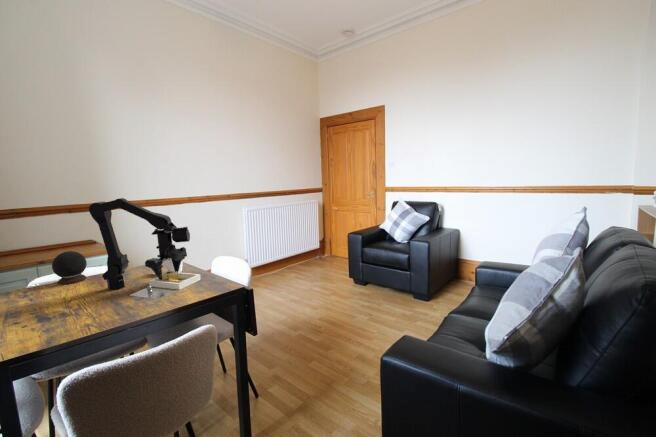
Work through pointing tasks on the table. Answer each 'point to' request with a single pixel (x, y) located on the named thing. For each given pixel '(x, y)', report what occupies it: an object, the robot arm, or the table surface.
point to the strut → (171, 277)
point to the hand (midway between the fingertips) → (169, 276)
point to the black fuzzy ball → (69, 267)
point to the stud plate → (152, 293)
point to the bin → (171, 285)
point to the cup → (170, 265)
